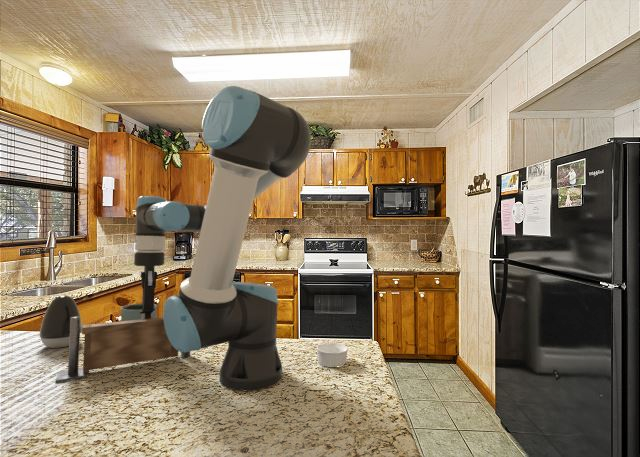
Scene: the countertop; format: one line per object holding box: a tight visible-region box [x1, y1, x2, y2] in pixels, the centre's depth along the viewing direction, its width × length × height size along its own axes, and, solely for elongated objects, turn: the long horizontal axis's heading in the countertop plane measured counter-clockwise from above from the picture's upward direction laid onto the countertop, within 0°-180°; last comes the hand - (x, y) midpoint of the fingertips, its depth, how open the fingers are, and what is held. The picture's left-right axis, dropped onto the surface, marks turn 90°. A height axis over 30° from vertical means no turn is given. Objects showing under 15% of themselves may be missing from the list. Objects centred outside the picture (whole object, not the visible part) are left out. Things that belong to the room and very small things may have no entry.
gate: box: [81, 316, 179, 372], centre depth 86 cm, size 22×3×11 cm, turn 123°
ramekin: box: [316, 342, 349, 368], centre depth 92 cm, size 9×9×4 cm
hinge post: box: [54, 315, 89, 384], centre depth 79 cm, size 6×6×14 cm
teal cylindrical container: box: [120, 303, 158, 321], centre depth 103 cm, size 10×10×12 cm
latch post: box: [180, 351, 191, 359], centre depth 93 cm, size 2×2×13 cm
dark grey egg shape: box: [39, 294, 83, 349], centre depth 100 cm, size 10×10×15 cm
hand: (146, 335), depth 91 cm, fingers closed
